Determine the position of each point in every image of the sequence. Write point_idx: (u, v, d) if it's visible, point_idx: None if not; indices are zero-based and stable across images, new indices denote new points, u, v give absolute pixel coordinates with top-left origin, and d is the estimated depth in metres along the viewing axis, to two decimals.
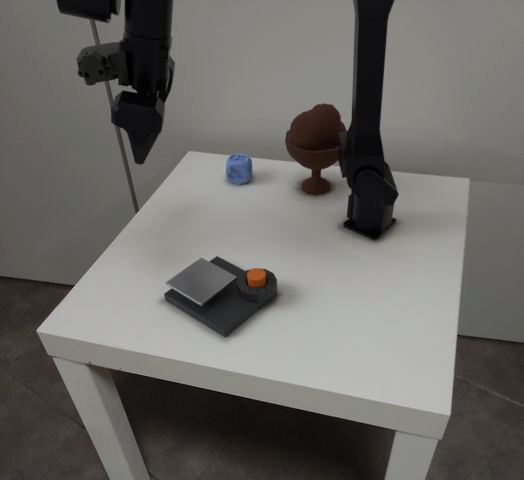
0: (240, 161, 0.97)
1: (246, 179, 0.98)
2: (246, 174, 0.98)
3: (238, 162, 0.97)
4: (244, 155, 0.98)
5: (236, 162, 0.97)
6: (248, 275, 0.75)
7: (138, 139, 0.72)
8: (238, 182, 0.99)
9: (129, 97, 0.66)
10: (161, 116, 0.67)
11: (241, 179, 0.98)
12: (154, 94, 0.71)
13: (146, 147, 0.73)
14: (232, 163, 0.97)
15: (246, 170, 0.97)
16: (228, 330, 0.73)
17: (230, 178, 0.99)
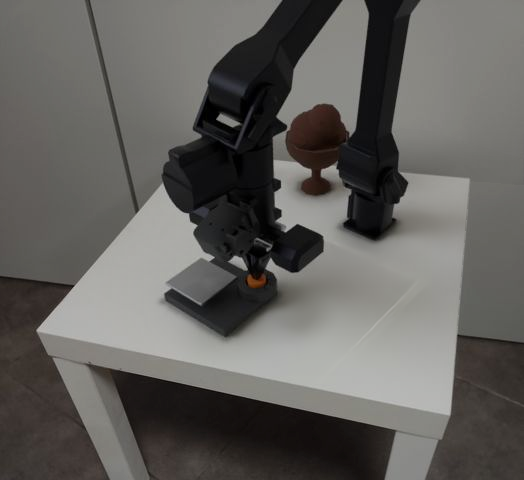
0: None
1: None
2: None
3: None
4: None
5: None
6: (248, 279, 0.76)
7: (262, 258, 0.72)
8: None
9: (290, 241, 0.65)
10: None
11: None
12: None
13: (268, 259, 0.74)
14: None
15: None
16: (228, 330, 0.73)
17: None
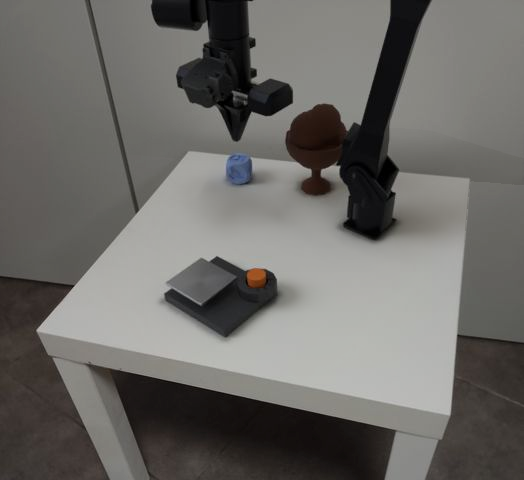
0: (240, 161, 0.97)
1: (246, 179, 0.98)
2: (246, 174, 0.98)
3: (238, 162, 0.97)
4: (244, 155, 0.98)
5: (236, 162, 0.97)
6: (248, 275, 0.75)
7: (240, 117, 0.84)
8: (238, 182, 0.99)
9: (264, 88, 0.76)
10: (291, 87, 0.78)
11: (241, 179, 0.98)
12: None
13: (246, 120, 0.85)
14: (232, 163, 0.97)
15: (246, 170, 0.97)
16: (228, 330, 0.73)
17: (230, 178, 0.99)
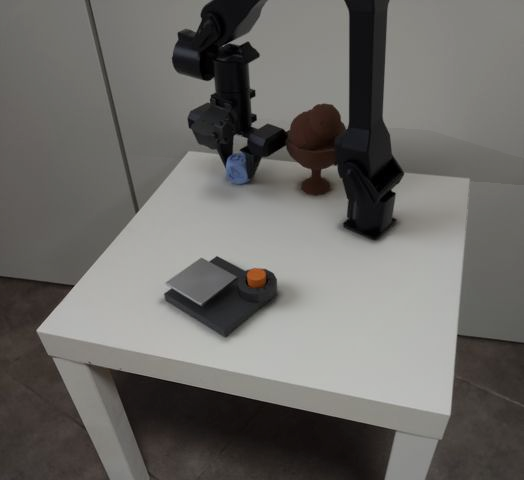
0: (240, 161, 0.97)
1: (246, 179, 0.98)
2: (246, 174, 0.98)
3: (238, 162, 0.97)
4: (244, 155, 0.98)
5: (236, 162, 0.97)
6: (248, 275, 0.75)
7: (254, 159, 0.95)
8: (238, 182, 0.99)
9: (262, 133, 0.89)
10: (285, 131, 0.91)
11: (241, 179, 0.98)
12: None
13: (258, 161, 0.96)
14: (232, 163, 0.97)
15: (246, 170, 0.97)
16: (228, 330, 0.73)
17: (230, 178, 0.99)
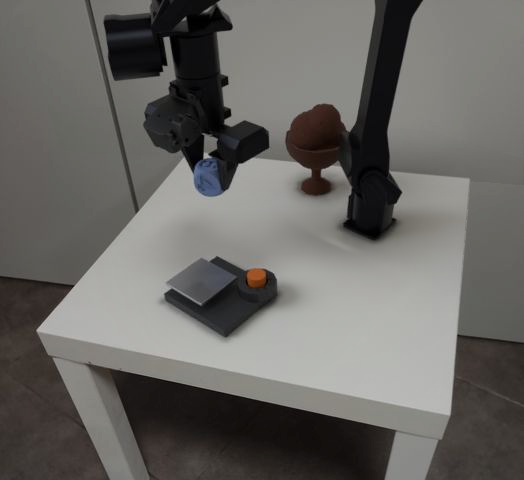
0: (211, 168, 0.76)
1: (219, 191, 0.78)
2: (219, 185, 0.77)
3: (209, 169, 0.76)
4: None
5: (206, 169, 0.76)
6: (248, 275, 0.75)
7: (228, 166, 0.74)
8: (209, 194, 0.78)
9: (235, 133, 0.68)
10: (267, 131, 0.70)
11: (213, 191, 0.78)
12: None
13: (234, 168, 0.75)
14: (201, 170, 0.76)
15: None
16: (228, 330, 0.73)
17: (199, 189, 0.78)
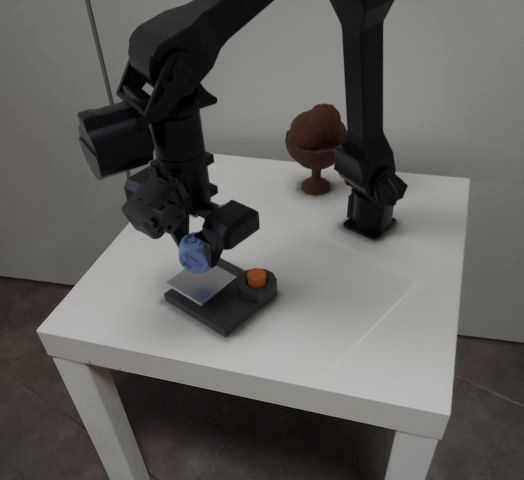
0: (198, 245, 0.71)
1: (207, 268, 0.72)
2: (206, 262, 0.71)
3: (195, 247, 0.70)
4: None
5: (192, 247, 0.71)
6: (248, 275, 0.75)
7: (215, 244, 0.69)
8: (196, 271, 0.73)
9: (222, 217, 0.62)
10: (257, 211, 0.64)
11: (200, 268, 0.72)
12: None
13: None
14: (187, 248, 0.70)
15: (206, 257, 0.71)
16: (228, 330, 0.73)
17: (185, 266, 0.73)
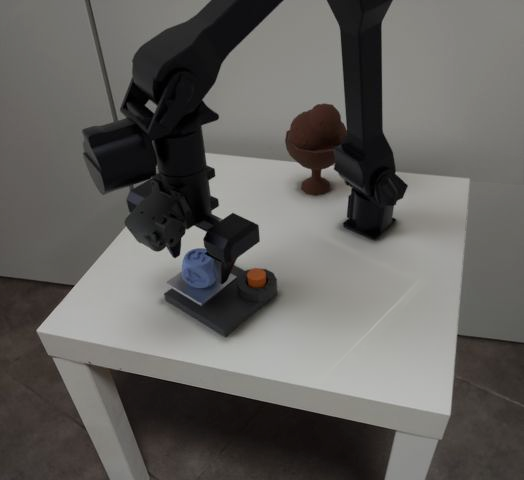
0: (200, 261, 0.73)
1: (209, 283, 0.74)
2: (209, 278, 0.73)
3: (197, 263, 0.72)
4: (206, 251, 0.74)
5: (195, 263, 0.72)
6: (248, 275, 0.75)
7: (226, 261, 0.69)
8: (199, 286, 0.75)
9: (223, 230, 0.64)
10: (257, 225, 0.66)
11: (202, 283, 0.74)
12: None
13: (232, 262, 0.70)
14: (190, 264, 0.72)
15: (208, 273, 0.73)
16: (228, 330, 0.73)
17: (188, 281, 0.74)
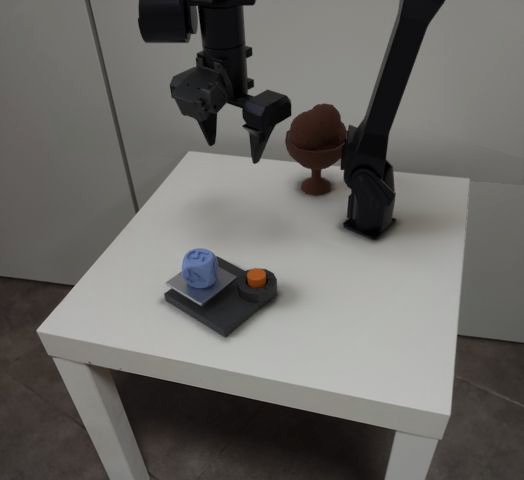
0: (200, 261, 0.73)
1: (209, 283, 0.74)
2: (209, 278, 0.73)
3: (197, 263, 0.72)
4: (206, 251, 0.74)
5: (195, 263, 0.72)
6: (248, 275, 0.75)
7: (260, 138, 0.77)
8: (199, 286, 0.75)
9: (260, 101, 0.71)
10: (289, 99, 0.73)
11: (202, 283, 0.74)
12: None
13: (265, 141, 0.78)
14: (190, 264, 0.72)
15: (208, 273, 0.73)
16: (228, 330, 0.73)
17: (188, 281, 0.74)
